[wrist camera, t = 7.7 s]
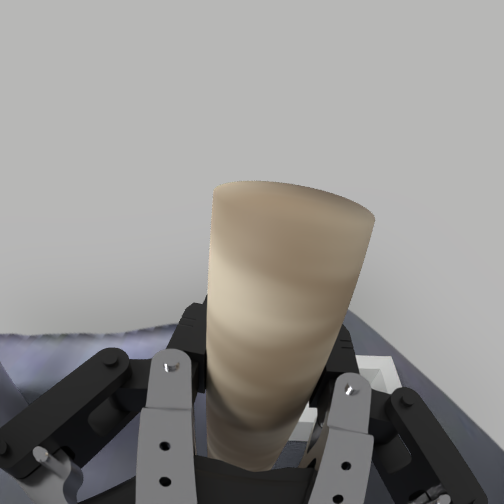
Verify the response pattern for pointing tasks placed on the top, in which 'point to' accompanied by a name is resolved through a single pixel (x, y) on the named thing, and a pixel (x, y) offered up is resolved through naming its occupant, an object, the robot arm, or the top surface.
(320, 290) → the birch peg
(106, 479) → the top surface
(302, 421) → the hole block
